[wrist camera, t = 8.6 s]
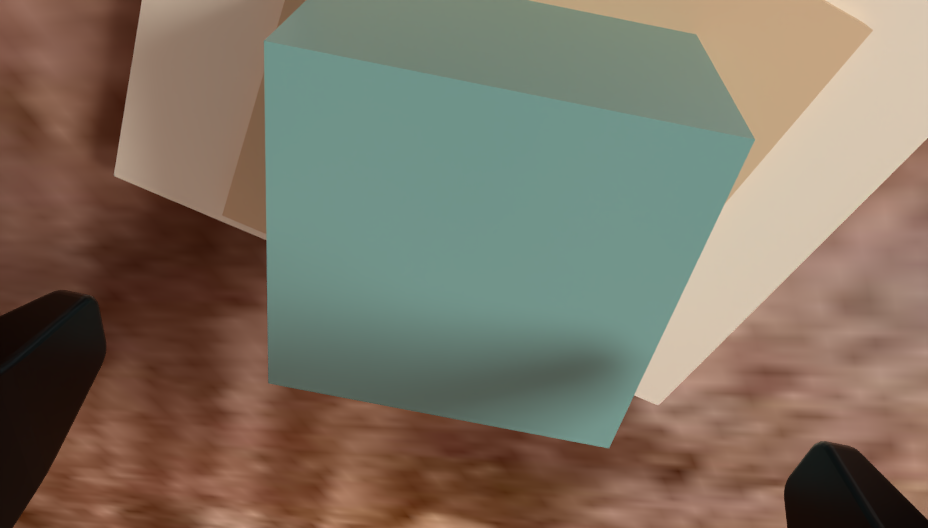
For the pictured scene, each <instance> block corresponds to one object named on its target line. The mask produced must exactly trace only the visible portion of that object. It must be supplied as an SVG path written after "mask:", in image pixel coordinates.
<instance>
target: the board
mask: <svg viewBox="0 0 928 528" xmlns="http://www.w3.org/2000/svg"><path fill="white" fill-rule="evenodd" d="M305 1H306V0H142V3H141V9H140V15H139V22H138V28H137V34H136V40H135V47H134V53H133V59H132V65H131V71H130V78H129V84H128V90H127V96H126V102H125V109H124V115H123V121H122V127H121V134H120V140H119V146H118V152H117V158H116V165H115V171H114V176H115V177H117V178H120V179H122V180H124V181H127V182H129V183H132V184H134V185H136V186H139V187H141V188H143V189H146V190H148V191H151V192H153V193H155V194H158V195H160V196H162V197H165V198H167V199H170V200H172V201H174V202H177V203H179V204H181V205H184V206H186V207H189V208H191V209H193V210H196V211H198V212H200V213H203V214H205V215H208V216H210V217H212V218H215V219H217V220H219V221H222V222H224V223H226V224H229V225H231V226H234V227H236V228H238V229H241V230H243V231H245V232H248V233H250V234H253V235H255V236H257V237H260V238H262V239H264V240H267V238H266V163H265V87H264V40H265V39H266V38H267V37H268V36H269V35H271V34H272V33H273V32H274V31H275V30H276V29H277V28H278V27H279V26H280V25H281V24H282V23H283V22H284V21H285V20H286V19H287V18H288V17H289V16H290V15H291V14H292V13H293V12H295V11H296V10H297V9H298V8H299V7H300V6H301V5H302V4H303V3H304V2H305ZM529 1H534V2H539V3H544V4H549V5H554V6H559V7H564V8H569V9H574V10H579V11H583V12H588V13H593V14H598V15H603V16H608V17H613V18H618V19H623V20H628V21H633V22H637V23H642V24H647V25H652V26H657V27H662V28H667V29H672V30H677V31H682V32H687V33H692V34H696V35H697V37H698V38H699V40H700V42H701V44H702V45H703V47H704V49H705V51H706V53H707V54H708V56H709V58H710V60H711V61H712V63H713V65H714V67H715V69H716V70H717V72H718V74H719V76H720V78H721V79H722V81H723V83H724V85H725V86H726V88H727V90H728V92H729V94H730V95H731V97H732V99H733V101H734V103H735V104H736V106H737V108H738V110H739V111H740V113H741V115H742V117H743V119H744V120H745V122H746V124H747V126H748V128H749V129H750V131H751V133H752V135H753V136H754V138H755V141H754V143H753V145H752V147H751V149H750V152H749V154H748V156H747V158H746V160H745V162H744V164H743V166H742V168H741V171H740V173H739V175H738V177H737V179H736V181H735V183H734V185H733V187H732V190H731V192H730V194H729V196H728V198H727V200H726V202H725V204H724V206H723V209H722V211H721V213H720V215H719V217H718V219H717V221H716V223H715V225H714V228H713V230H712V232H711V234H710V236H709V238H708V240H707V242H706V244H705V247H704V249H703V251H702V253H701V255H700V257H699V259H698V261H697V263H696V266H695V268H694V270H693V272H692V274H691V276H690V278H689V280H688V282H687V284H686V287H685V289H684V291H683V293H682V295H681V297H680V299H679V301H678V303H677V306H676V308H675V310H674V312H673V314H672V316H671V318H670V320H669V322H668V325H667V327H666V329H665V331H664V333H663V335H662V337H661V339H660V341H659V344H658V346H657V348H656V350H655V352H654V354H653V356H652V358H651V360H650V363H649V365H648V367H647V369H646V371H645V373H644V375H643V377H642V379H641V382H640V384H639V386H638V388H637V390H636V392H635V394H634V395H635V396H637V397H639V398H642V399H644V400H646V401H649V402H651V403H653V404H656V405H659V404H660V403H661V402H662V401H663V400H664V399H665V398H666V397H667V396H668V395H669V394H670V393H671V392H672V391H673V390H674V389H675V388H676V387H677V386H678V385H679V384H680V383H681V382H682V381H683V380H684V379H685V378H686V377H687V376H688V375H689V374H690V373H691V372H692V371H693V370H694V369H696V368H697V367H698V366H699V365H700V364H701V363H702V362H703V361H704V360H705V359H706V358H707V357H708V356H709V355H710V354H711V353H712V352H713V351H714V350H715V349H716V348H717V347H718V346H719V345H720V344H721V343H722V342H723V341H724V340H725V339H726V338H727V337H728V336H729V335H730V334H731V333H732V332H733V331H734V330H735V329H736V328H737V327H738V326H739V325H740V324H741V323H742V322H743V321H744V320H745V319H746V318H747V317H748V316H749V315H750V314H751V313H752V312H753V311H754V310H755V309H756V308H757V307H758V306H759V305H760V304H761V303H762V302H763V301H764V300H765V299H766V298H767V297H768V296H769V295H770V294H771V293H772V292H773V291H774V290H775V289H776V288H777V287H778V286H779V285H780V284H781V283H782V282H783V281H784V280H785V279H786V278H787V277H788V276H789V275H790V274H791V273H792V272H793V271H794V270H795V269H796V268H797V267H798V266H799V265H800V264H801V263H802V262H803V261H804V260H805V259H806V258H807V257H808V256H809V255H810V254H811V253H812V252H813V251H814V250H815V249H816V248H817V247H818V246H819V245H820V244H821V243H822V242H823V241H824V240H825V239H826V238H827V237H828V236H829V235H830V234H831V233H832V232H833V231H834V230H835V229H836V228H838V227H839V226H840V225H841V224H842V223H843V222H844V221H845V220H846V219H847V218H848V217H849V216H850V215H851V214H852V213H853V212H854V211H855V210H856V209H857V208H858V207H859V206H860V205H861V204H862V203H863V202H864V201H865V200H866V199H867V198H868V197H869V196H870V195H871V194H872V193H873V192H874V191H875V190H876V189H877V188H878V187H879V186H880V185H881V184H882V183H883V182H884V181H885V180H886V179H887V178H888V177H889V176H890V175H891V174H892V173H893V172H894V171H895V170H896V169H897V168H898V167H899V166H900V165H901V164H902V163H903V162H904V161H905V160H906V159H907V158H908V157H909V156H910V155H911V154H912V153H913V152H914V151H915V150H916V149H917V148H918V147H919V146H920V145H921V144H922V143H923V142H924V141H925V140H926V139H927V138H928V0H529Z"/></svg>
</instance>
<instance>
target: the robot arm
mask: <svg viewBox="0 0 928 528" xmlns="http://www.w3.org/2000/svg"><path fill="white" fill-rule="evenodd" d="M105 354H106V339H105V334H104V329H103V324H102V319H101V314H100V309H99V305H98V302H97V301H96V299H95V298H94V297H92V296H90V295H86V294H81V293H76V292H71V291H66V290H58V291H54V292H52V293H49V294H47V295H45V296H43V297H40V298H38V299H36V300H34V301H32V302H30V303H27V304H25V305H23V306H21V307H19V308H17V309H14V310H12V311H10V312H8V313H6V314H3V315H1V316H0V528H13V527H14V525H15V523H16V522H17V520H18V519H19V517H20V516H21V514H22V513H23V511H24V509H25V508H26V506H27V505H28V503H29V502H30V500H31V499H32V497H33V495H34V494H35V492H36V491H37V489H38V487H39V486H40V484H41V483H42V481H43V479H44V478H45V476H46V474H47V473H48V471H49V469H50V467H51V465H52V463H53V461H54V460H55V458H56V456H57V454H58V452H59V450H60V448H61V446H62V444H63V442H64V440H65V438H66V436H67V434H68V432H69V430H70V428H71V426H72V424H73V422H74V420H75V418H76V416H77V414H78V412H79V410H80V408H81V406H82V404H83V402H84V400H85V398H86V396H87V394H88V392H89V390H90V388H91V386H92V384H93V382H94V380H95V378H96V376H97V374H98V372H99V370H100V368H101V366H102V363H103V361H104V358H105ZM784 501H785V510H786V519H787V528H928V520H927V519H926V518H925V517H924V516H923V515H922V514H921V513H920V512H919V511H918V510H917V509H916V508H915V507H914V506H913V505H912V504H911V503H910V502H909V501H908V500H907V499H906V498H905V497H904V496H903V495H902V494H901V493H900V492H899V491H898V490H897V489H896V488H895V487H894V486H893V485H892V484H891V483H890V482H889V481H888V480H887V479H886V478H885V477H884V476H883V475H882V474H881V473H880V472H879V471H878V470H877V469H876V468H875V467H874V466H873V465H872V464H871V463H870V462H869V461H868V460H867V459H866V458H865V457H864V456H863V455H862V454H861V453H860V452H859V451H858V450H856V449H855V448H853V447H850V446H847V445H842V444H837V443H832V442H827V441H821V442H819V443H816V444H815V445H814V446H813V447H812V448H811V449H810V450H809V452H808V453H807V454H806V455H805V457H804V458H803V459H802V461H801V462H800V463H799V465H798V466H797V467H796V468H795V470H794V471H793V472H792V474H791V475H790V476H789V478H788V480H787V482H786V485H785V490H784Z"/></svg>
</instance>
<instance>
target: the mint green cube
mask: <svg viewBox="0 0 928 528" xmlns="http://www.w3.org/2000/svg"><path fill="white" fill-rule="evenodd" d="M264 87H265V163H266V238H267V314H268V383H270V384H275V385H280V386H285V387H291V388H296V389H301V390H306V391H311V392H317V393H322V394H327V395H332V396H338V397H343V398H348V399H353V400H359V401H364V402H369V403H374V404H380V405H385V406H390V407H395V408H400V409H406V410H411V411H416V412H421V413H427V414H432V415H437V416H442V417H448V418H453V419H458V420H463V421H469V422H474V423H479V424H484V425H490V426H495V427H500V428H505V429H510V430H516V431H521V432H526V433H531V434H537V435H542V436H547V437H552V438H558V439H563V440H568V441H573V442H579V443H584V444H589V445H594V446H599V447H605V448H609V447H610V445H611V443H612V441H613V439H614V436H615V434H616V432H617V430H618V428H619V426H620V424H621V422H622V420H623V417H624V415H625V413H626V411H627V409H628V407H629V405H630V403H631V401H632V398H633V396H634V394H635V392H636V390H637V388H638V386H639V384H640V382H641V379H642V377H643V375H644V373H645V371H646V369H647V367H648V365H649V363H650V360H651V358H652V356H653V354H654V352H655V350H656V348H657V346H658V344H659V341H660V339H661V337H662V335H663V333H664V331H665V329H666V327H667V325H668V322H669V320H670V318H671V316H672V314H673V312H674V310H675V308H676V306H677V303H678V301H679V299H680V297H681V295H682V293H683V291H684V289H685V287H686V284H687V282H688V280H689V278H690V276H691V274H692V272H693V270H694V268H695V266H696V263H697V261H698V259H699V257H700V255H701V253H702V251H703V249H704V247H705V244H706V242H707V240H708V238H709V236H710V234H711V232H712V230H713V228H714V225H715V223H716V221H717V219H718V217H719V215H720V213H721V211H722V209H723V206H724V204H725V202H726V200H727V198H728V196H729V194H730V192H731V190H732V187H733V185H734V183H735V181H736V179H737V177H738V175H739V173H740V171H741V168H742V166H743V164H744V162H745V160H746V158H747V156H748V154H749V152H750V149H751V147H752V145H753V143H754V141H755V138H754V136H753V135H752V133H751V131H750V129H749V128H748V126H747V124H746V122H745V120H744V119H743V117H742V115H741V113H740V111H739V110H738V108H737V106H736V104H735V103H734V101H733V99H732V97H731V95H730V94H729V92H728V90H727V88H726V86H725V85H724V83H723V81H722V79H721V78H720V76H719V74H718V72H717V70H716V69H715V67H714V65H713V63H712V61H711V60H710V58H709V56H708V54H707V53H706V51H705V49H704V47H703V45H702V44H701V42H700V40H699V38H698V37H697V35H696V34H692V33H687V32H682V31H677V30H672V29H667V28H662V27H657V26H652V25H647V24H642V23H637V22H633V21H628V20H623V19H618V18H613V17H608V16H603V15H598V14H593V13H588V12H583V11H579V10H574V9H569V8H564V7H559V6H554V5H549V4H544V3H539V2H534V1H529V0H306V1H305V2H304V3H303V4H302V5H301V6H300V7H299V8H298V9H297V10H296V11H295V12H293V13H292V14H291V15H290V16H289V17H288V18H287V19H286V20H285V21H284V22H283V23H282V24H281V25H280V26H279V27H278V28H277V29H276V30H275V31H274V32H273V33H272V34H271V35H269V36H268V37H267V38H266V39H265V40H264Z"/></svg>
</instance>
